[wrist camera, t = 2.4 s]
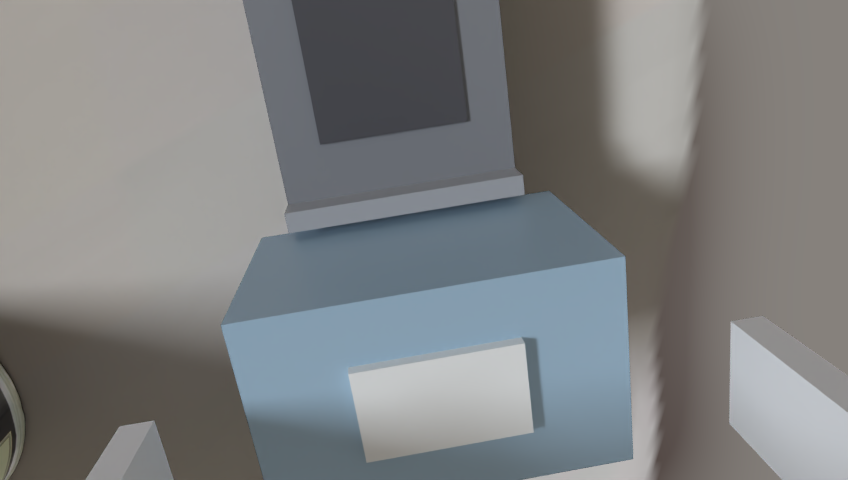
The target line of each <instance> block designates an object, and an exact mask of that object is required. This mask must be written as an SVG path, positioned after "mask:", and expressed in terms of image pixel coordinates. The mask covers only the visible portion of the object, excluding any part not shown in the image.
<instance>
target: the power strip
mask: <svg viewBox="0 0 848 480" xmlns="http://www.w3.org/2000/svg"><path fill="white" fill-rule="evenodd" d="M243 4H244V8H245V13H246V17H247V22H248V26H249V31H250V35H251V40H252V44H253V49H254V53H255V58H256V62H257V67H258V71H259V76H260V80H261V85H262V89H263V94H264V98H265V103H266V107H267V112H268V116H269V121H270V125H271V129H272V134H273V138H274V143H275V147H276V152H277V156H278V161H279V165H280V170H281V174H282V179H283V183H284V188H285V192H286V197H287V201H288V206H287V209H286V211H285V219H286V223H287V227H288V232H289V233H295V232H301V231H307V230H313V229H319V228H325V227H331V226H337V225H343V224H350V223H356V222H362V221H368V220H374V219H380V218H386V217H392V216H398V215H404V214H410V213H416V212H422V211H429V210H435V209H441V208H447V207H453V206H459V205H465V204H471V203H477V202H483V201H489V200H495V199H501V198H508V197H514V196H519V195H525V192H524V181H523V175H522V174H521V173H520V172H519V171H518V170H517V169H516V168H515V162H514V152H513V142H512V131H511V121H510V110H509V100H508V89H507V79H506V69H505V58H504V48H503V37H502V27H501V17H500V6H499V0H243Z"/></svg>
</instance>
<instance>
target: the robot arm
mask: <svg viewBox="0 0 848 480" xmlns="http://www.w3.org/2000/svg"><path fill="white" fill-rule="evenodd" d="M729 419H730V420H729V423H730V425H731V426H732V427H733V428H734V429H735V430H736V431H737V432H738V433H739V434H740V435H741V436H742V437H743V439H744V440H745V441H746V442H747V443H748V444H749V445H750V446H751V447H752V448H753V449H754V450H755V451H756V452H757V453H758V454H759V456H760V457H761V458H762V459H763V460H764V461H765V462H766V463H767V464H768V465H769V466H770V467H771V468H772V469H773V471H774V472H775V473H776V474H777V475H778V476H779V477H780V478H781V479H782V480H848V375H847V374H845V373H844V372H843V371H841V370H840V369H838V368H837V367H835V366H834V365H833V364H831V363H830V362H828V361H827V360H826V359H824V358H823V357H821V356H820V355H818V354H817V353H816V352H814V351H813V350H811V349H810V348H808V347H807V346H806V345H804V344H803V343H801V342H800V341H798V340H797V339H796V338H794V337H793V336H791V335H790V334H788V333H787V332H786V331H784V330H783V329H781V328H780V327H779V326H777V325H776V324H774V323H773V322H771V321H770V320H769V319H767V318H766V317H764V316H758V317H753V318H747V319H741V320H735V321H731V337H730V416H729ZM86 480H174V479H173V476H172V473H171V470H170V467H169V464H168V461H167V458H166V454H165V451H164V448H163V445H162V442H161V439H160V436H159V433H158V430H157V427H156V424H155V421H154V420H153V421H147V422H142V423H136V424H130V425H124V426H119V428H118V429H117V431H116V433H115V434H114V436H113V437H112V439H111V440H110V442H109V443H108V445H107V447H106V448H105V450H104V451H103V453H102V454H101V456H100V458H99V459H98V461H97V462H96V464H95V465H94V467H93V469H92V470H91V472H90V473H89V475H88V476H87V478H86Z"/></svg>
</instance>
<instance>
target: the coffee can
mask: <svg viewBox="0 0 848 480" xmlns="http://www.w3.org/2000/svg"><path fill="white" fill-rule="evenodd" d="M24 438H25V417H24V413H23V410H22V407H21V402H20V398H19V395H18V393H17V391H16V389H15V386H14V384H13V382H12V380H11V379H10V377H9V375H8V374H7V372H6V371H5V369H4V368H3V367H2V365H1V364H0V480H8V479H9V478H10V476H11V475H12V473H13V472H14V470H15V468H16V466H17V464H18V462H19V459H20V456H21V453H22V450H23V444H24Z"/></svg>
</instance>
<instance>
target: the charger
mask: <svg viewBox="0 0 848 480" xmlns="http://www.w3.org/2000/svg"><path fill="white" fill-rule="evenodd" d="M221 328H222V331H223V335H224V339H225V342H226V346H227V349H228V353H229V357H230V360H231V364H232V367H233V371H234V375H235V378H236V382H237V385H238V389H239V393H240V396H241V400H242V403H243V407H244V411H245V414H246V418H247V421H248V425H249V429H250V432H251V436H252V439H253V443H254V447H255V450H256V454H257V457H258V461H259V465H260V468H261V472H262V475H263V479H264V480H522V479H528V478H533V477H539V476H544V475H549V474H555V473H560V472H566V471H571V470H576V469H582V468H587V467H593V466H598V465H603V464H609V463H614V462H620V461H625V460H630V459H633V441H632V415H631V389H630V363H629V337H628V311H627V285H626V259H625V256H624V255H623V254H622V253H621V252H620V251H619V250H617V249H616V248H615V247H614V246H613V245H612V244H610V243H609V242H608V241H607V240H606V239H605V238H603V237H602V236H601V235H600V234H599V233H598V232H597V231H595V230H594V229H593V228H592V227H591V226H590V225H588V224H587V223H586V222H585V221H584V220H583V219H581V218H580V217H579V216H578V215H577V214H576V213H574V212H573V211H572V210H571V209H570V208H569V207H567V206H566V205H565V204H564V203H563V202H562V201H560V200H559V199H558V198H557V197H556V196H555V195H554V194H552V193H551V192H550V191H544V192H538V193H532V194H526V195H520V196H514V197H508V198H501V199H495V200H489V201H483V202H477V203H471V204H465V205H459V206H453V207H447V208H441V209H435V210H429V211H422V212H416V213H410V214H404V215H398V216H392V217H386V218H380V219H374V220H368V221H362V222H356V223H350V224H343V225H337V226H331V227H325V228H319V229H313V230H307V231H301V232H295V233H289V234H283V235H277V236H271V237H264V238H262V239H261V241H260V243H259V245H258V247H257V249H256V252H255V254H254V256H253V258H252V260H251V262H250V264H249V266H248V269H247V271H246V273H245V275H244V277H243V279H242V281H241V283H240V286H239V288H238V290H237V292H236V294H235V296H234V298H233V300H232V302H231V305H230V307H229V309H228V311H227V313H226V315H225V317H224V319H223V322H222V324H221Z"/></svg>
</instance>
